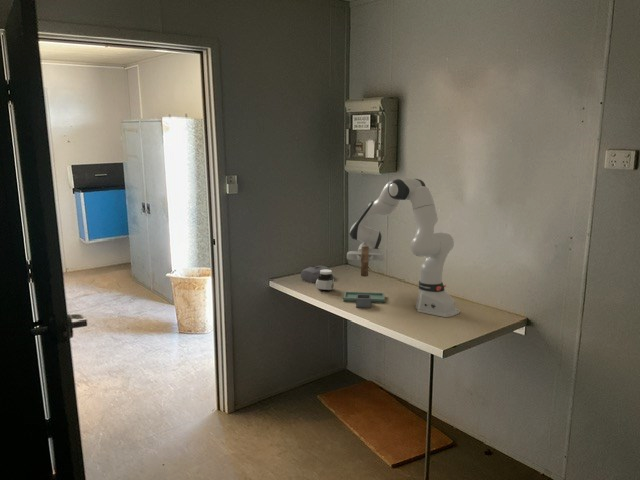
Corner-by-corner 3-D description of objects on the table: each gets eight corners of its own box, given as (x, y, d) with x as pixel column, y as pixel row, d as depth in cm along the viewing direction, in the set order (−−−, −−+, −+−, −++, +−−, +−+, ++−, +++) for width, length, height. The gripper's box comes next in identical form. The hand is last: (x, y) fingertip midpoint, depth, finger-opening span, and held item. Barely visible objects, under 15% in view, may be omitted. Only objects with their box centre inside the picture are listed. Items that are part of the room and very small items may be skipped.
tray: (384, 296, 283) (384, 292, 283) (384, 302, 272) (384, 299, 271) (344, 294, 286) (344, 291, 285) (343, 301, 274) (343, 297, 274)
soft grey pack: (314, 284, 308) (336, 278, 322) (314, 270, 307) (337, 265, 321) (297, 279, 319) (319, 273, 333) (297, 266, 317) (320, 261, 331)
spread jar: (327, 293, 289) (327, 273, 287) (310, 290, 294) (310, 271, 292) (337, 288, 299) (337, 269, 297) (320, 285, 304) (320, 266, 302)
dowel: (369, 275, 276) (370, 246, 273) (364, 277, 274) (365, 247, 270) (364, 274, 279) (364, 245, 276) (359, 275, 276) (359, 246, 273)
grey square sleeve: (370, 303, 270) (371, 294, 269) (370, 308, 263) (370, 299, 262) (356, 303, 271) (356, 294, 270) (356, 307, 264) (356, 298, 263)
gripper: (347, 247, 288) (345, 252, 274) (383, 248, 286) (383, 253, 272) (346, 258, 289) (345, 264, 275) (383, 259, 287) (383, 265, 273)
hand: (364, 259), depth 274 cm, fingers closed on dowel, 4 cm apart
